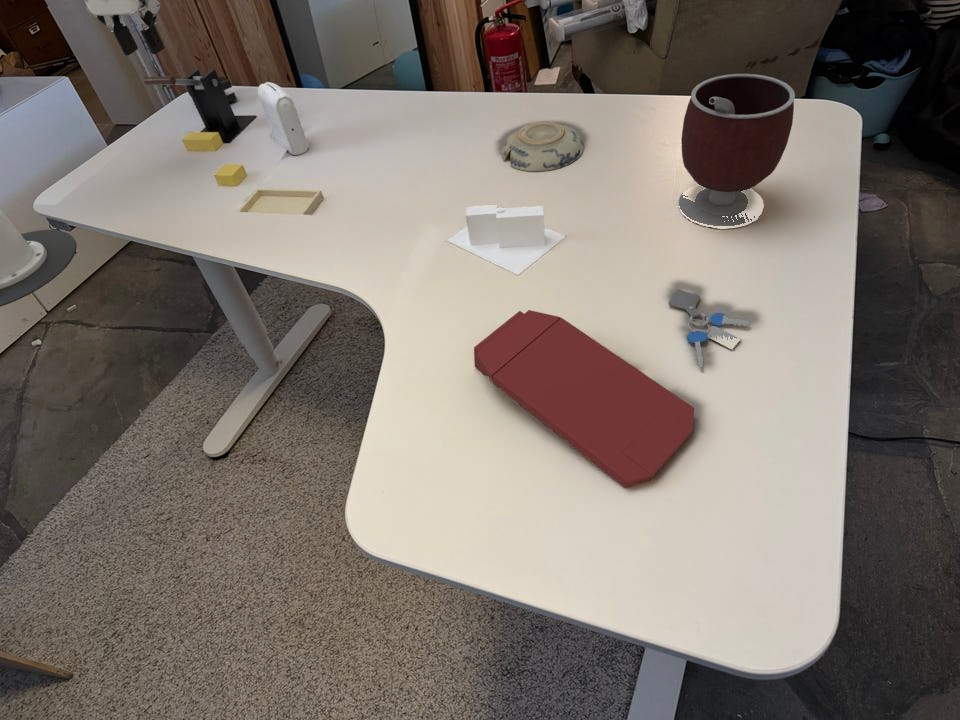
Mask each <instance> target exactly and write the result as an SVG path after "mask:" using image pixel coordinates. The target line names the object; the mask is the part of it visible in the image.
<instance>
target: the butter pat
mask: <svg viewBox="0 0 960 720" xmlns="http://www.w3.org/2000/svg"><path fill="white" fill-rule="evenodd" d="M247 176H248V173H247V171H246V169H245V166H244V165H243V164H241V163H238V164H237V163H236V164H235V163H234V164H233V163H232V164H231V163H224V164H223V165H222V166H221V167H220V168H219V169H218V170H217V171H216V172H215V173H214V174H213V177H214V179H215V181H216V183H217V185H218V187H238V186H239V185H240V183H242V181H243V180H245V178H246V177H247Z"/></svg>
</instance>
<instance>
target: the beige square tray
mask: <svg viewBox="0 0 960 720" xmlns="http://www.w3.org/2000/svg"><path fill="white" fill-rule="evenodd" d="M323 200H324V194H323V192H322V190H321V189H293V188H292V189H288V188H287V189H286V188H284V189H283V188H256V189H255V190H254V191H253V193H251V195H250V196H249V197H248V198H247V200H245V201H244V203H243V204H242V205H241V207H240V208H239V209H238V210H237V211H236V212H237V213H253V214H254V213H255V214H276V215H299V216H300V215H303V216H312V215H313V213H314V212H315V211H316V210H317V208H318V207H319V205H320V204H321V203H322V201H323Z"/></svg>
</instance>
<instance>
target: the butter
mask: <svg viewBox="0 0 960 720" xmlns="http://www.w3.org/2000/svg"><path fill="white" fill-rule="evenodd" d="M181 142H182V143H183V146H184V147H185V149H186V151H187V152H217V150H219V149H220V147H222V146H223V145H224V143H223V142H222V139H221V137H220V135H219V133H218V132H200V131H190V132H188V133H187V134H186V135H185V136H183V138H181Z"/></svg>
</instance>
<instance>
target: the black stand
mask: <svg viewBox="0 0 960 720" xmlns="http://www.w3.org/2000/svg"><path fill="white" fill-rule="evenodd" d="M203 75H204V76H203ZM203 75H202V74H201V72H200V70H199V69H194V70H192V72H190V73H189V74H188V75H186V76H185V77H183V79H190V80H193V76H202V77H201V78H200V80H201V83H202V85H203V87H204V89H205V90H198V89H195V86H194V85H185V87H186V90H187V89H188V91H189V93H190V95H191V96H190V95H189V96H190V98H191V100H192V101H193V104H194V107H195V108H196V110H197V112H198V115H199V116H200V118H201V119H200V120H201V121H202V123H203V125H204V128H202V130H200V131H199V132H218V133H219V135H220V137H221V139H222V142H223V144H231V143H232V142H233V141H234V140H235V139H236V138H237V137H238V136H239V135H240V134H241V133H243V131H244V130H245V129H247V128H248V126H249V125H250V124H251V123H253V121H255V120H256V119H257V117H258V115H254V114H253V115H251V114H250V115H241V114H240V115H235V113H234V111H233V108H232V106H231V104H230V103H229V101H228V99H227V96H226V95H227V94H226V91H225V90H224V89H223V87H222V85H221V82H220V80H219V78H220V77H219V75H218V72H217V71H216V69H210V70H209V71H208V72H206V73H205V74H203ZM188 91H187V92H188ZM189 93H188V94H189Z"/></svg>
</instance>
